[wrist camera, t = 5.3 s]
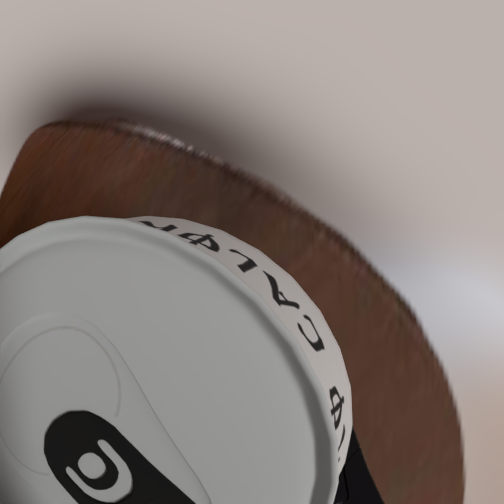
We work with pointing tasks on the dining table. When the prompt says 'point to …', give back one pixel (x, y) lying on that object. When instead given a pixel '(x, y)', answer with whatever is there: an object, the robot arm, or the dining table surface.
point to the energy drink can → (163, 370)
